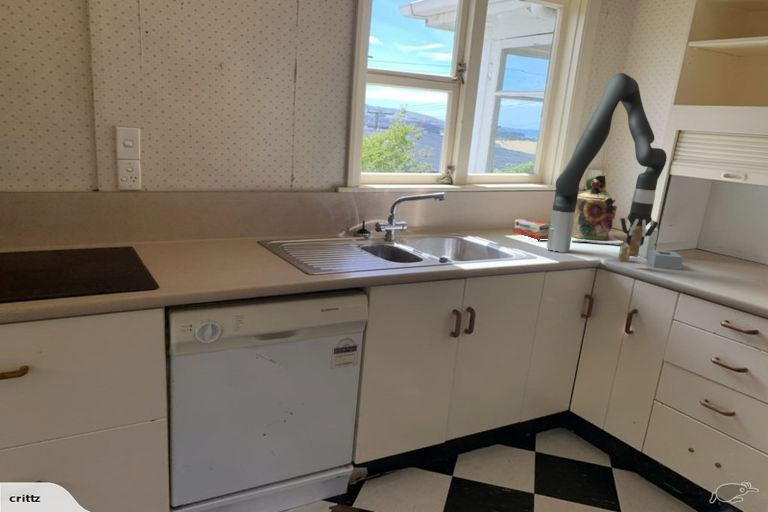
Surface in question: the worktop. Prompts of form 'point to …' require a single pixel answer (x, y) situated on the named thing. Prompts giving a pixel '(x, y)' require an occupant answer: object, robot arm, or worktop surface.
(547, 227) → the medicine box
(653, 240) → the skincare box
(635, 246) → the long pin
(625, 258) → the short pin
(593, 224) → the cookie jar
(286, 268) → the worktop surface
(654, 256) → the socket block
